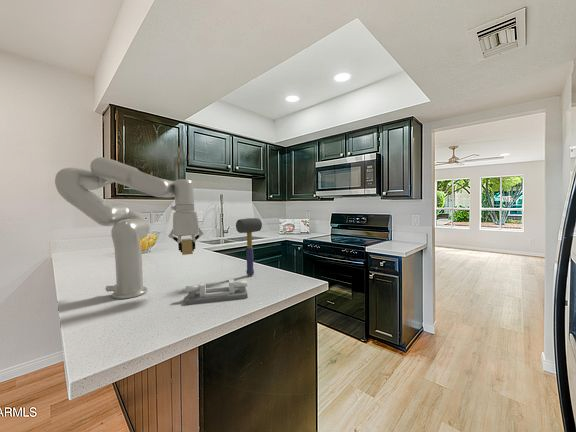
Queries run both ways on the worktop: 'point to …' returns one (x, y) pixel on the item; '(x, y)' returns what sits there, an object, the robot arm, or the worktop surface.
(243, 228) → the rubber mallet
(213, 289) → the shaft stand
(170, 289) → the worktop surface
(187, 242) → the coupler
